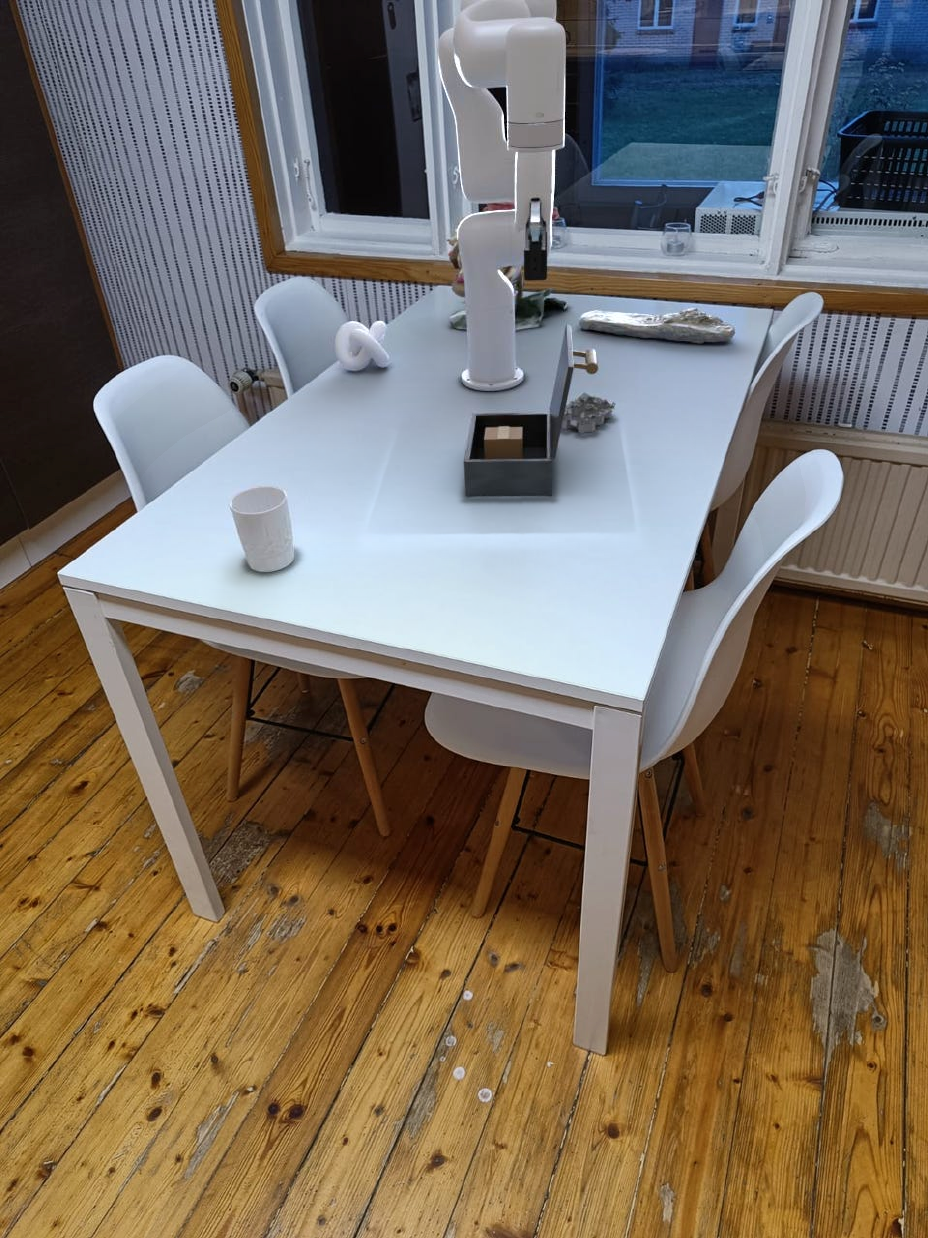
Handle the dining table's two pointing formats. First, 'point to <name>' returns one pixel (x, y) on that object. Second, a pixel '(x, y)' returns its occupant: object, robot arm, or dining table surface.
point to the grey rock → (586, 413)
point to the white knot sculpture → (361, 345)
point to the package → (503, 443)
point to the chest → (509, 473)
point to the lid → (566, 384)
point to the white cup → (264, 527)
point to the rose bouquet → (525, 306)
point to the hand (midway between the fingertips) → (535, 269)
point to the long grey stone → (661, 325)
